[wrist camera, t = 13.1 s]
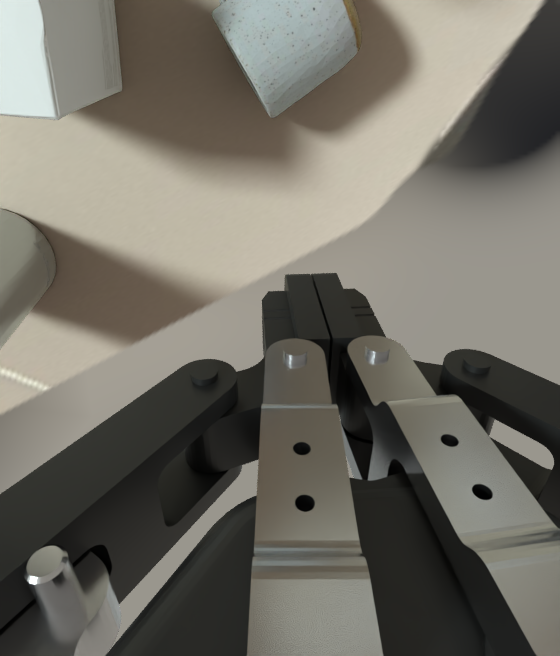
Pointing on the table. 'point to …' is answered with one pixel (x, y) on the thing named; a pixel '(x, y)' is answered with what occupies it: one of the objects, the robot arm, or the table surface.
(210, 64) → the table surface
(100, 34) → the supplement box
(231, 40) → the ceramic mug
